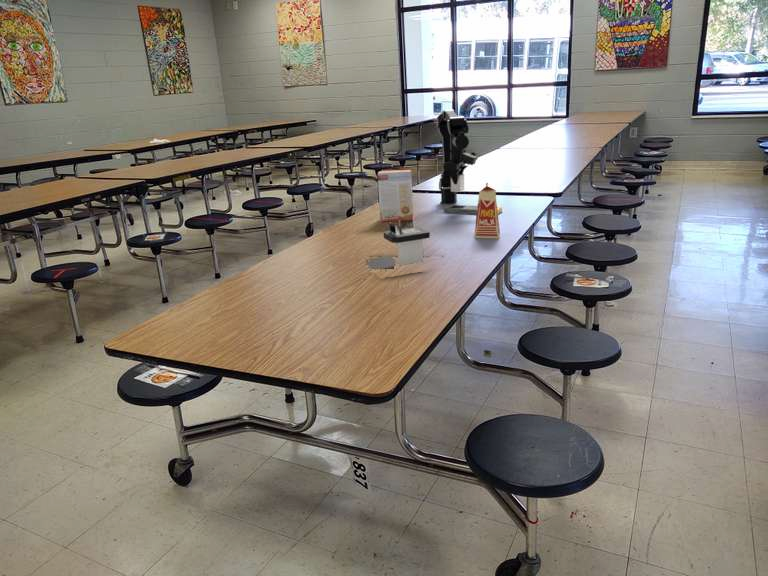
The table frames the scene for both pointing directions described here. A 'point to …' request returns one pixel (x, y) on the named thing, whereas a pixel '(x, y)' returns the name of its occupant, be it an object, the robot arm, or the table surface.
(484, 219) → the milk carton
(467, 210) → the rail
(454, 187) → the grey rectangular block
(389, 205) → the cracker box
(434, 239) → the table surface
